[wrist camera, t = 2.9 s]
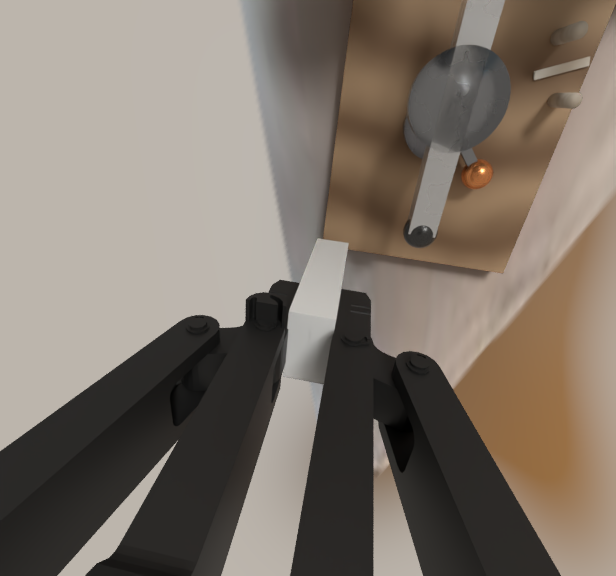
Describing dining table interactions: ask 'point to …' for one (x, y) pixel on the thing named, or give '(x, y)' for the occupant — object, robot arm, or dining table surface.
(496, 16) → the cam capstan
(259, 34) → the dining table surface
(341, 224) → the wooden lever board
